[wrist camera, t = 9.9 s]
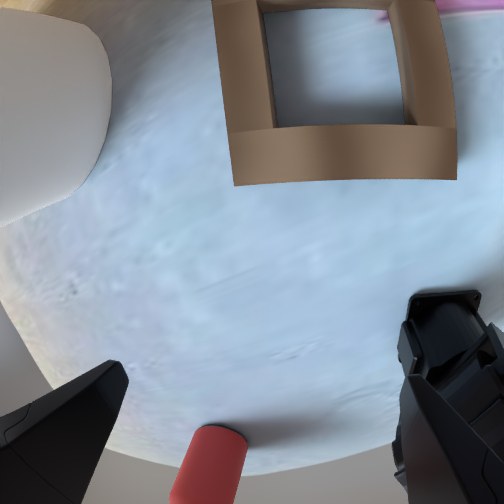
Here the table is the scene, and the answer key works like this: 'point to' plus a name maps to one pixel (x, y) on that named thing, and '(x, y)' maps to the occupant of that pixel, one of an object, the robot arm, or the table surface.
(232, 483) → the beer can
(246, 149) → the pocket board
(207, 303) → the table surface
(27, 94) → the cylinder
